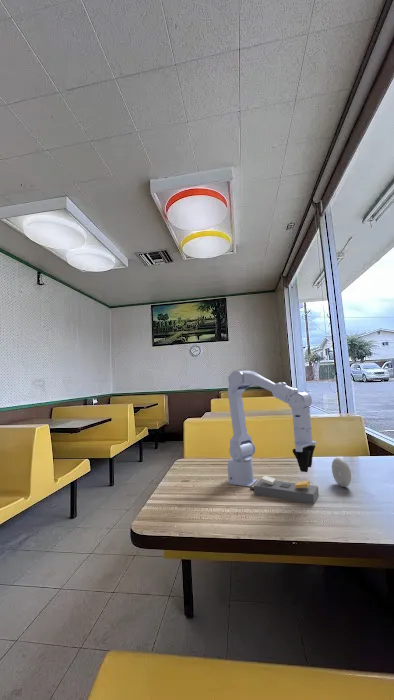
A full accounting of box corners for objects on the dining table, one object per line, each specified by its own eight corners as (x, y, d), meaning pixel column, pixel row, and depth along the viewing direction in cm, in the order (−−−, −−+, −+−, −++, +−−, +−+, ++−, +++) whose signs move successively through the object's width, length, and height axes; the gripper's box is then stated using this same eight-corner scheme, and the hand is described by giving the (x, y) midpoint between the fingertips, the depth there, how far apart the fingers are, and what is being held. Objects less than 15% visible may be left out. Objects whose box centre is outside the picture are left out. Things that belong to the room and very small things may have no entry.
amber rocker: (295, 488, 100) (294, 485, 101) (298, 484, 103) (297, 481, 104) (307, 487, 98) (306, 484, 99) (310, 483, 102) (309, 480, 102)
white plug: (261, 481, 107) (261, 478, 107) (264, 478, 110) (265, 475, 110) (272, 485, 105) (272, 482, 105) (275, 481, 108) (275, 479, 108)
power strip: (246, 493, 107) (245, 484, 108) (254, 486, 114) (254, 477, 114) (314, 504, 95) (313, 493, 95) (318, 495, 102) (317, 485, 102)
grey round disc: (354, 490, 104) (351, 461, 105) (345, 491, 104) (342, 461, 105) (340, 481, 114) (337, 454, 115) (331, 481, 114) (328, 454, 115)
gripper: (310, 432, 94) (314, 477, 93) (318, 424, 106) (322, 464, 105) (287, 431, 98) (291, 474, 96) (298, 424, 110) (301, 462, 109)
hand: (306, 469), depth 101 cm, fingers open, 5 cm apart
